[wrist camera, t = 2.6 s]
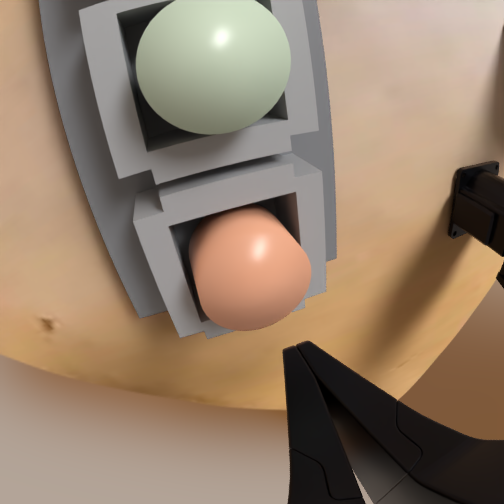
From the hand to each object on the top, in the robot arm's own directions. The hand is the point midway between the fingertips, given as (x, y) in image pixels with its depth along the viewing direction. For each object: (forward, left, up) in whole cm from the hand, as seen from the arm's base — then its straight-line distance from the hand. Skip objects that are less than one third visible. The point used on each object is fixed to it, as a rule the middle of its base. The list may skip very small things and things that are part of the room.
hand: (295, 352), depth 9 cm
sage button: (0, -8, -6) cm, 10 cm away
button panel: (0, -8, -10) cm, 13 cm away
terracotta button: (0, 0, -6) cm, 6 cm away
